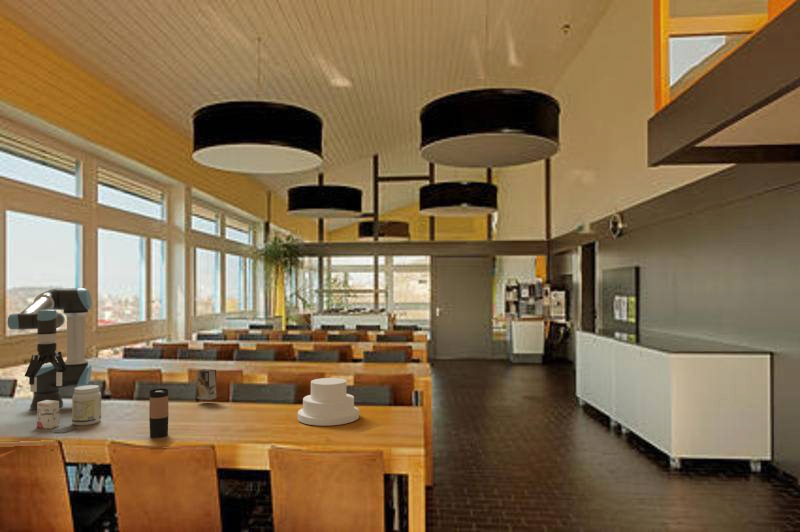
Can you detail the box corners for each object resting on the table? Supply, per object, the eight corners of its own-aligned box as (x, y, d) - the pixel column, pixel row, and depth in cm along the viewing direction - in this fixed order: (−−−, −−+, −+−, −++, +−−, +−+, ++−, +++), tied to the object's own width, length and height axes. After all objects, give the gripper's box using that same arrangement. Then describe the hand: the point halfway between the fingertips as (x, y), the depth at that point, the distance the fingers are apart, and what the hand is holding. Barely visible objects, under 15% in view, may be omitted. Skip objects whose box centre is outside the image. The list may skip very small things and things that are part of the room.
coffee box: (217, 397, 312) (217, 369, 312) (209, 400, 306) (209, 371, 306) (204, 396, 316) (204, 368, 316) (196, 398, 310) (196, 370, 310)
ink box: (36, 427, 253) (36, 402, 253) (45, 424, 258) (45, 399, 258) (50, 429, 250) (50, 403, 251) (59, 426, 255) (59, 400, 255)
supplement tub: (84, 418, 268) (84, 384, 268) (107, 419, 266) (107, 384, 267) (65, 425, 256) (65, 389, 256) (89, 426, 254) (89, 390, 255)
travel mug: (153, 433, 242) (153, 388, 242) (170, 433, 242) (170, 388, 243) (146, 439, 234) (146, 392, 234) (165, 438, 235) (165, 392, 235)
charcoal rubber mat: (65, 427, 252) (65, 426, 252) (77, 428, 250) (77, 427, 251) (50, 432, 245) (50, 431, 245) (62, 433, 243) (62, 432, 243)
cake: (328, 429, 248) (328, 390, 248) (284, 418, 266) (284, 382, 266) (371, 415, 272) (371, 379, 272) (328, 406, 290) (328, 373, 290)
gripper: (63, 339, 267) (62, 383, 267) (15, 345, 243) (15, 393, 243) (75, 340, 265) (75, 383, 265) (29, 346, 241) (28, 394, 241)
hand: (46, 388), depth 254 cm, fingers open, 13 cm apart
